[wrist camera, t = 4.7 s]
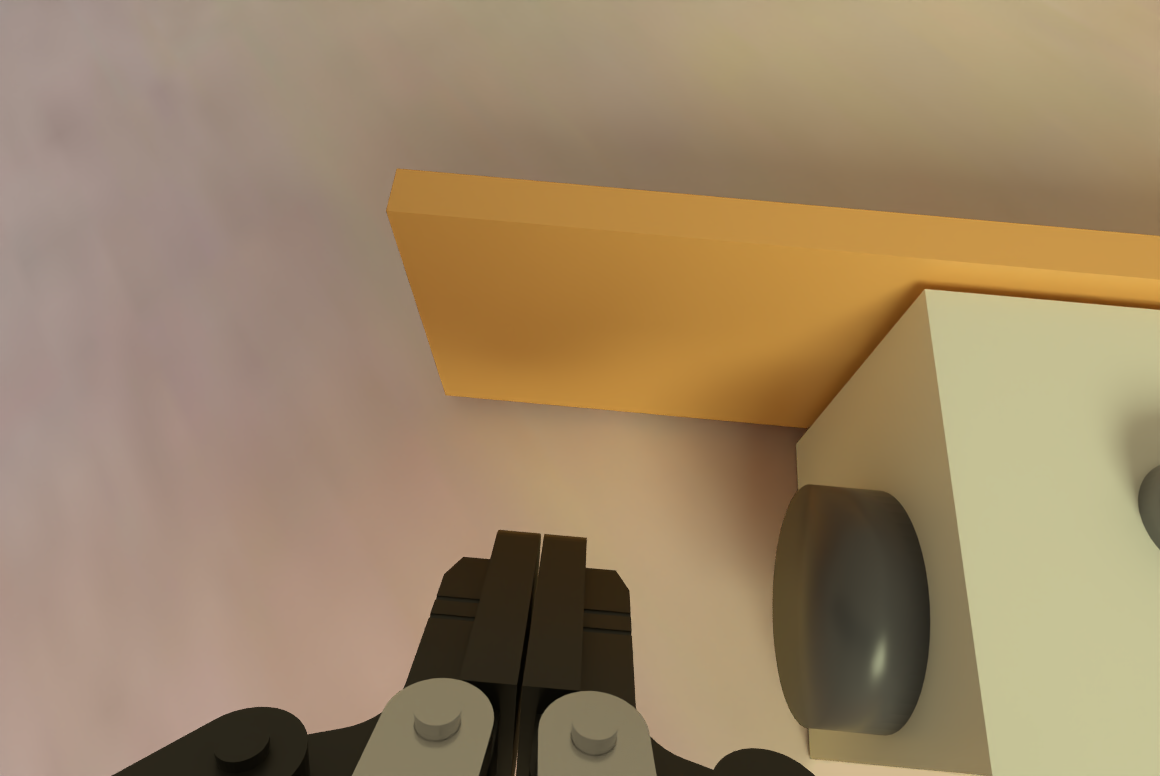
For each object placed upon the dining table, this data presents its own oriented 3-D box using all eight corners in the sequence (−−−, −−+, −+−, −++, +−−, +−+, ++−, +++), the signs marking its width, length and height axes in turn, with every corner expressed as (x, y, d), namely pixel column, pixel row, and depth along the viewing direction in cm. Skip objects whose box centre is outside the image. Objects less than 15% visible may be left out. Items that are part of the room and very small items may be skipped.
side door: (1352, 420, 21) (1769, 256, 14) (1376, 480, 20) (1831, 339, 13) (456, 339, 21) (405, 136, 14) (445, 395, 21) (386, 210, 13)
